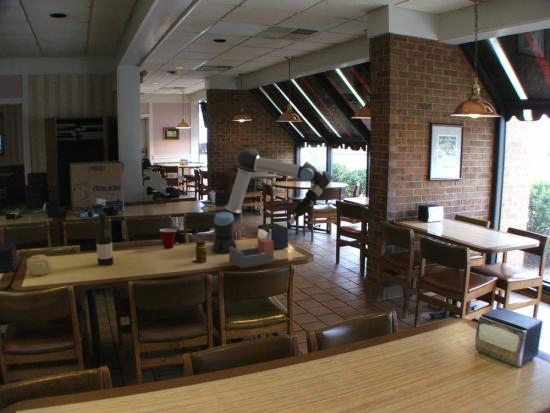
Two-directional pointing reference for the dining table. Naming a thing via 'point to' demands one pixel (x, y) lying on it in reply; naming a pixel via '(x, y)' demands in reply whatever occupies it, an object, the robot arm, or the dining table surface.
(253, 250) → the grey open bin
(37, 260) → the sculpture
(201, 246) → the condiment
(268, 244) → the red block
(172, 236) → the plastic cup
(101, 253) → the wine bottle
